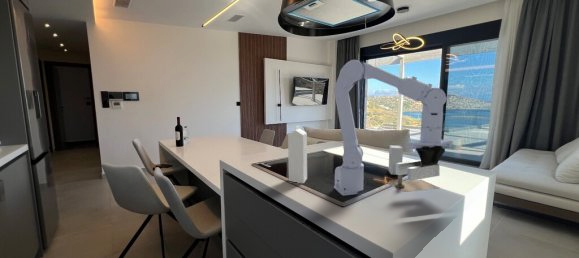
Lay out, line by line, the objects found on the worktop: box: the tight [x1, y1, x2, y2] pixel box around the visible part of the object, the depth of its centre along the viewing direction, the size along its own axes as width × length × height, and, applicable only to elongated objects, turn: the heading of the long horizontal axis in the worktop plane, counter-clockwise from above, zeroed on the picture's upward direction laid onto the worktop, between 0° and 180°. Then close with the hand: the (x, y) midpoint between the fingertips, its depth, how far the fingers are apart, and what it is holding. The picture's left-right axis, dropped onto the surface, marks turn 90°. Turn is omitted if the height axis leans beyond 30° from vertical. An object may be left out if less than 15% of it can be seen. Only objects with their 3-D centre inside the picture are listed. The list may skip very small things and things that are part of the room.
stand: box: [387, 175, 440, 193], centre depth 88 cm, size 14×9×7 cm, turn 102°
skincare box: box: [388, 144, 404, 176], centre depth 103 cm, size 6×4×12 cm
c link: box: [396, 158, 441, 181], centre depth 78 cm, size 10×7×4 cm
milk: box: [287, 124, 308, 184], centre depth 97 cm, size 6×6×22 cm
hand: (428, 169), depth 78 cm, fingers closed on c link
